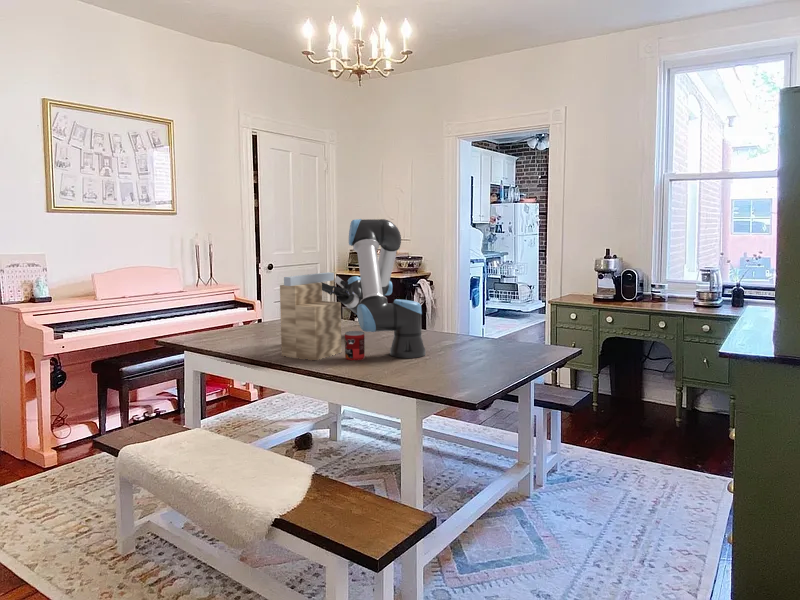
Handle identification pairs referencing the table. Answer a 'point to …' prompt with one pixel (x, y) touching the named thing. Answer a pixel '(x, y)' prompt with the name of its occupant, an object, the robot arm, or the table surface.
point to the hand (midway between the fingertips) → (323, 277)
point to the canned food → (354, 345)
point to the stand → (309, 323)
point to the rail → (308, 279)
